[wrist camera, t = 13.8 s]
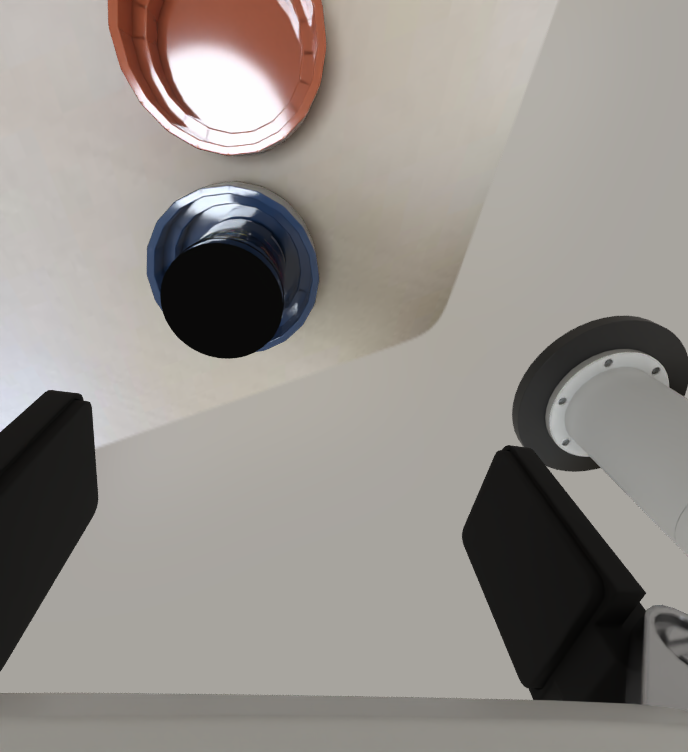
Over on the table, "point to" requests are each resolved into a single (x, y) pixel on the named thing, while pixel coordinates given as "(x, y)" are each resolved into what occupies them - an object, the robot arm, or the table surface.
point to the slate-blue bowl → (247, 203)
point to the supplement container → (226, 290)
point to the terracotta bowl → (222, 67)
